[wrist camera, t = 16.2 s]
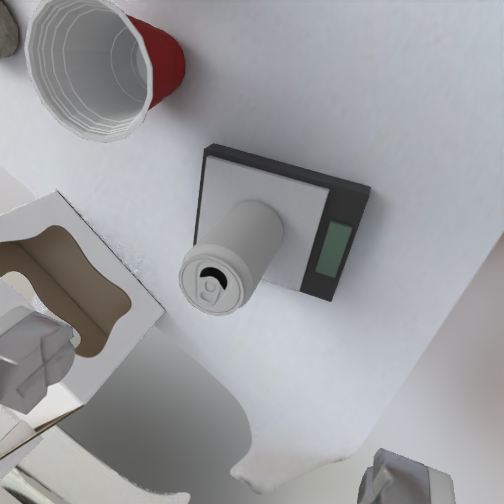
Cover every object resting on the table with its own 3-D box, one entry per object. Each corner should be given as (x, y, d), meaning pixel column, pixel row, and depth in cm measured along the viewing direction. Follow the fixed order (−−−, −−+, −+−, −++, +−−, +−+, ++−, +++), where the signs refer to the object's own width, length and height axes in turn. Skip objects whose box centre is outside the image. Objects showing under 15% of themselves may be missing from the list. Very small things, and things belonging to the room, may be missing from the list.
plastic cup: (197, 135, 43) (135, 165, 33) (110, 96, 44) (24, 114, 34) (224, 24, 37) (159, 19, 27) (123, -17, 38) (23, -37, 28)
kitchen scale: (371, 186, 39) (368, 197, 37) (334, 290, 46) (330, 306, 43) (213, 143, 42) (200, 150, 40) (200, 246, 49) (188, 258, 46)
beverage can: (295, 215, 40) (259, 275, 30) (271, 264, 43) (232, 332, 33) (238, 187, 40) (184, 237, 30) (219, 237, 44) (166, 297, 34)
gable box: (14, 236, 59) (-240, 367, 35) (55, 187, 52) (-227, 309, 29) (117, 344, 63) (-51, 526, 39) (167, 311, 56) (0, 508, 33)
